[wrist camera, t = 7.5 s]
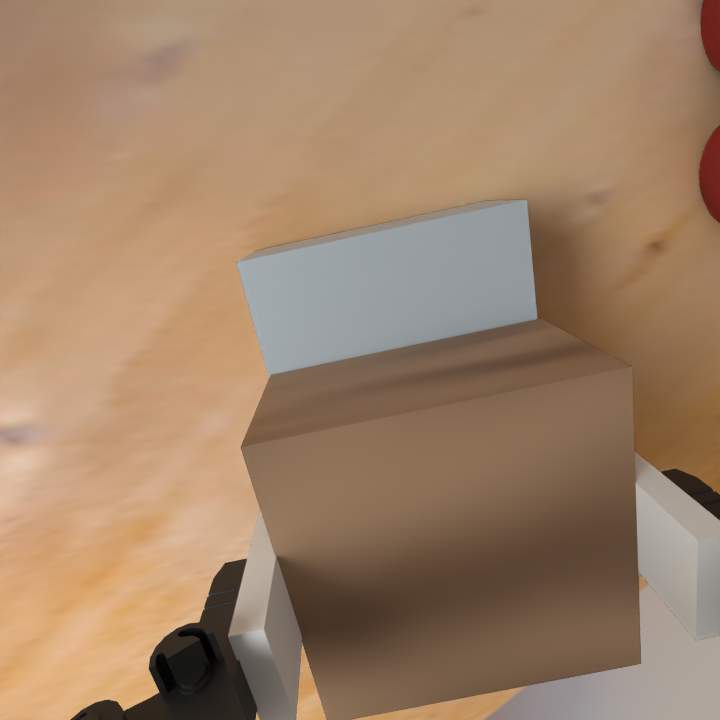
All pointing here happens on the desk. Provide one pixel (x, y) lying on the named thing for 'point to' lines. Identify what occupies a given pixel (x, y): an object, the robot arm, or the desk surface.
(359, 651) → the walnut block
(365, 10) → the desk surface
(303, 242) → the plinth
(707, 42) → the toy fire truck
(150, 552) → the desk surface
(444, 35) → the desk surface
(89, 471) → the desk surface
